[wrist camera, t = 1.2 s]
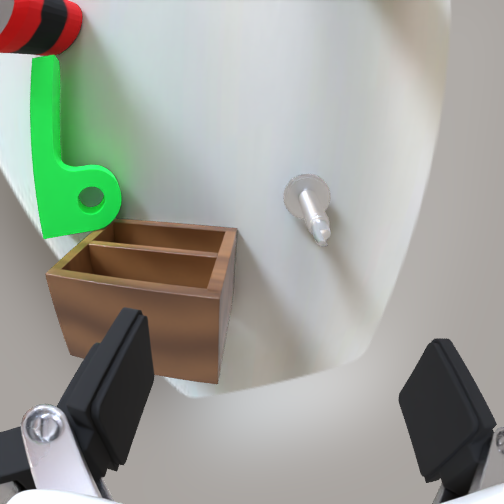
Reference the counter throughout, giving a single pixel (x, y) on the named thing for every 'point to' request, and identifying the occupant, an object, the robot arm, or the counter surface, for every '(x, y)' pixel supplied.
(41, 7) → the soda can
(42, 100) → the bracket
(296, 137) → the counter surface
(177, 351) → the shelf
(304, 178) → the screw
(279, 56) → the counter surface
